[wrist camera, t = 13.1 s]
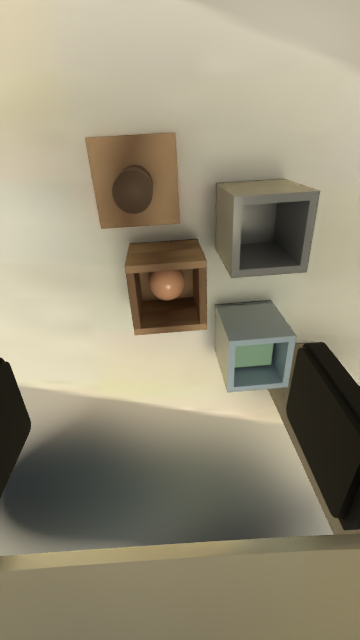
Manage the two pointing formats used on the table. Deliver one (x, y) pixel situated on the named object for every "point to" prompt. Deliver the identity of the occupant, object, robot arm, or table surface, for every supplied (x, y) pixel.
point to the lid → (135, 179)
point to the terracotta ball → (167, 284)
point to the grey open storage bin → (265, 226)
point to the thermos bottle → (281, 401)
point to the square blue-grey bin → (253, 329)
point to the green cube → (253, 355)
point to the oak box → (167, 314)
